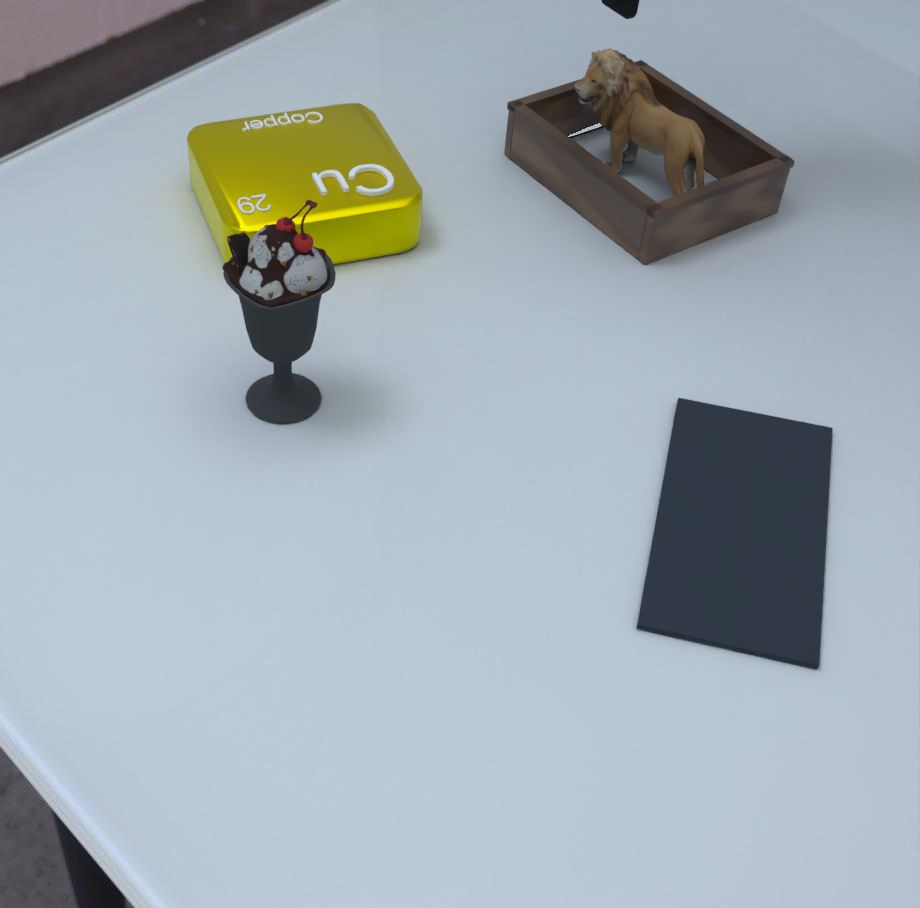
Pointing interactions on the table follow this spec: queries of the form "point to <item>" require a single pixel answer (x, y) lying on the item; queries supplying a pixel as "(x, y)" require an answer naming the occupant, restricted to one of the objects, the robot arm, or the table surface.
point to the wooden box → (621, 203)
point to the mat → (741, 534)
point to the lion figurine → (641, 119)
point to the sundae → (280, 311)
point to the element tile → (308, 180)
